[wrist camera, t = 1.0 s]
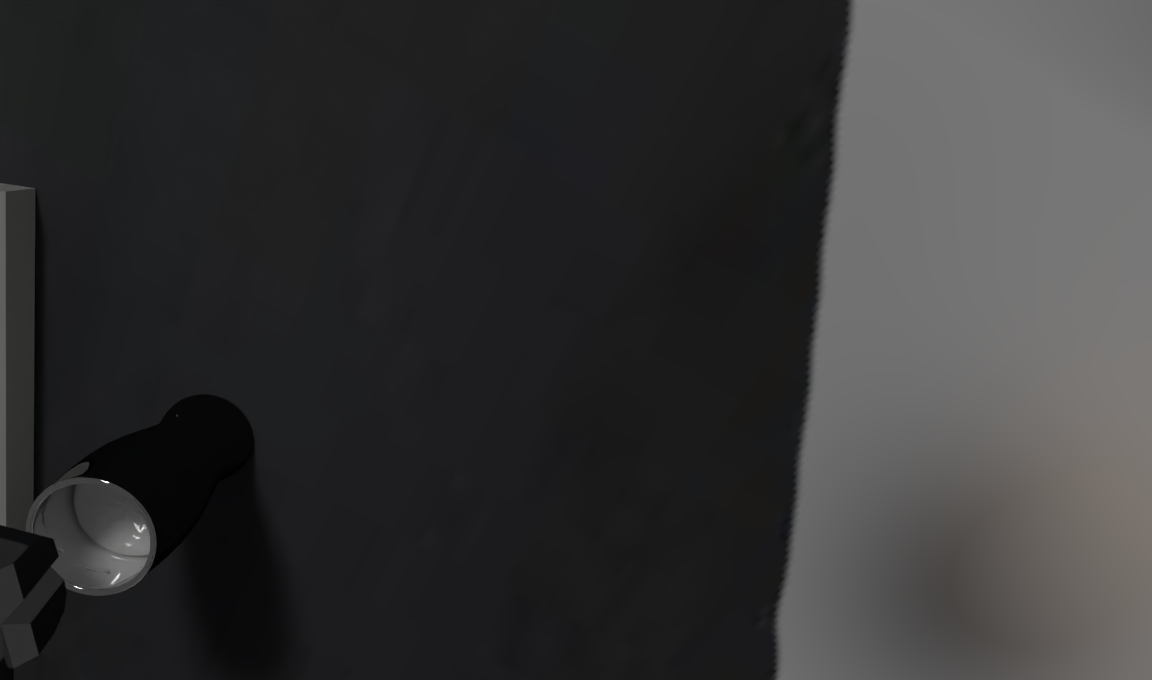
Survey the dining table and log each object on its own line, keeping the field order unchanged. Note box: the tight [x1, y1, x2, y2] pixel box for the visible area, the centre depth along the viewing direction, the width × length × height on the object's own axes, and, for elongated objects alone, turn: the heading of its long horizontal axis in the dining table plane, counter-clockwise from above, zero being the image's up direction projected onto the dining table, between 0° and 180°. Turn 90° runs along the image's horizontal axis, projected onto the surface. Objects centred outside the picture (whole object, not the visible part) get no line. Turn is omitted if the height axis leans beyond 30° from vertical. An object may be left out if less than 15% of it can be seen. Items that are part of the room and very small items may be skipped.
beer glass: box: [26, 394, 253, 596], centre depth 51 cm, size 7×7×15 cm
